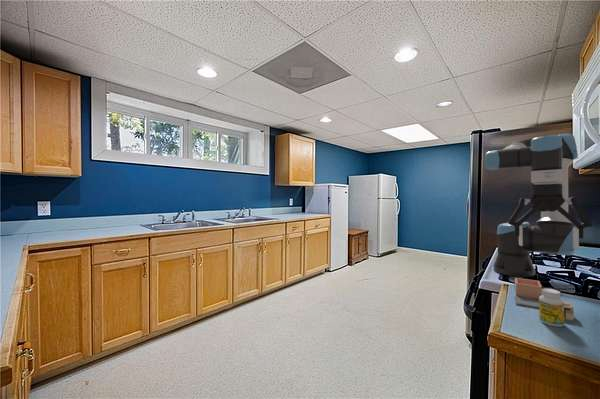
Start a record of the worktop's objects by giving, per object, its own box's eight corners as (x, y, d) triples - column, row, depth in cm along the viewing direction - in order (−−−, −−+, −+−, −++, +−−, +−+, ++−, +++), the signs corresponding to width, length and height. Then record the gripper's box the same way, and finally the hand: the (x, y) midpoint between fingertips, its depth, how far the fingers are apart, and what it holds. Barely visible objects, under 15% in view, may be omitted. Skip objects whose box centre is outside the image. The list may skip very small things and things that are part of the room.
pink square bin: (514, 290, 102) (514, 277, 102) (539, 294, 98) (539, 280, 98) (516, 296, 96) (516, 283, 96) (542, 300, 92) (542, 286, 92)
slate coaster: (514, 297, 96) (514, 295, 96) (540, 301, 92) (540, 300, 92) (516, 304, 90) (516, 303, 90) (543, 309, 86) (543, 307, 86)
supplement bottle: (565, 322, 77) (565, 290, 77) (562, 329, 74) (562, 295, 74) (541, 316, 82) (541, 286, 81) (537, 322, 78) (536, 290, 78)
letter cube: (552, 311, 84) (552, 299, 84) (570, 315, 82) (570, 302, 82) (555, 317, 81) (555, 304, 81) (573, 320, 79) (573, 307, 78)
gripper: (499, 185, 91) (501, 246, 92) (606, 181, 77) (606, 252, 78) (498, 184, 97) (499, 241, 98) (597, 180, 83) (597, 247, 84)
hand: (547, 246), depth 88 cm, fingers open, 13 cm apart
